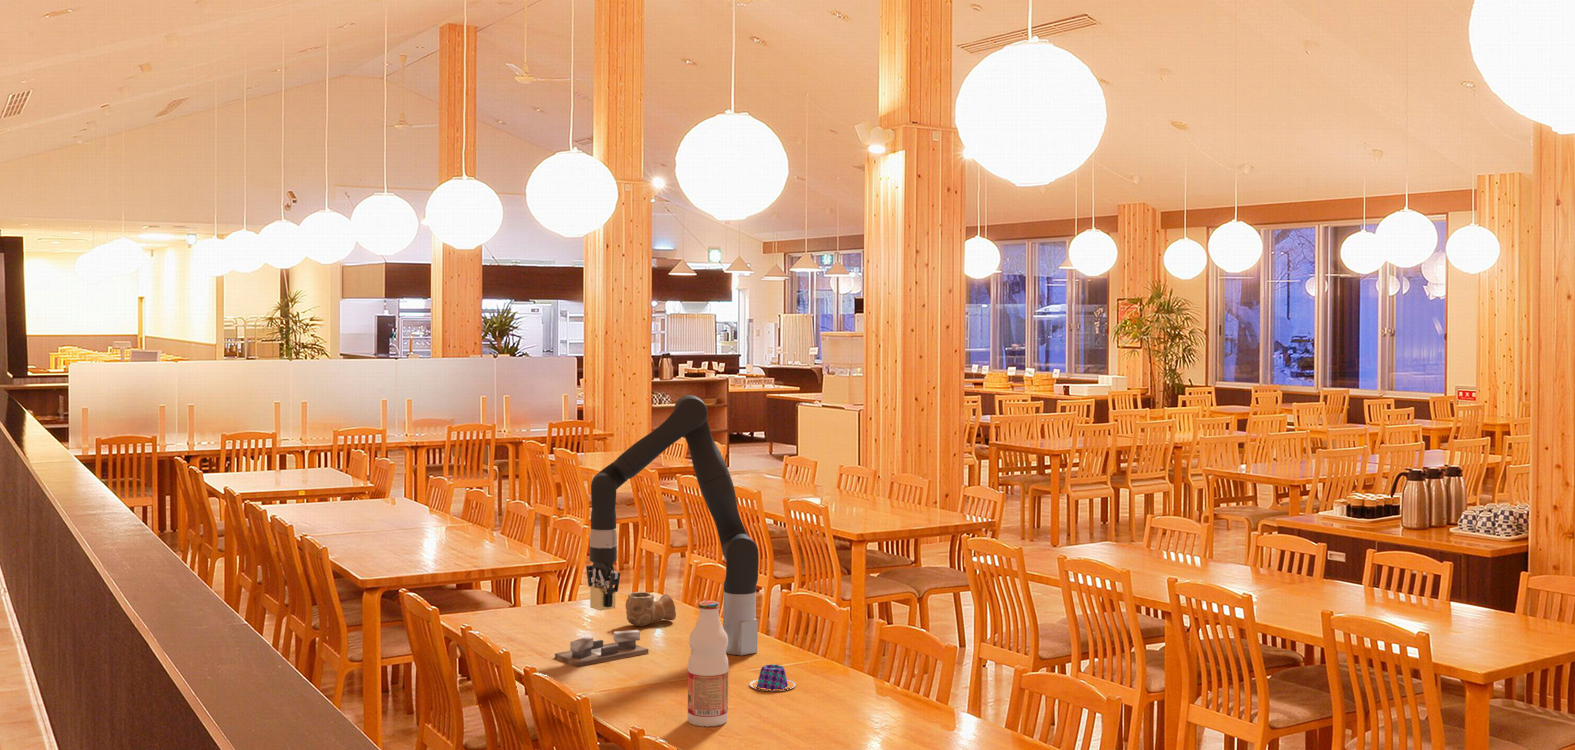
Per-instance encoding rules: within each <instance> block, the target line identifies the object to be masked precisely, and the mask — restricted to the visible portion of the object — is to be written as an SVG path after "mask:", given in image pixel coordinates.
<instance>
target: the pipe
mask: <svg viewBox="0 0 1575 750" xmlns="http://www.w3.org/2000/svg"><path fill="white" fill-rule="evenodd" d="M627 597H628V598H627V599H626V601H625V610H626V613H625V615H626V619H627V622H628V623H630V624H631V625H634V626H635V627H644V626H647V625H649V624H651V623H653V622H658V621H662V620H666V621H674V620H676V616H677V612H676V605H675V601H674V600H673V598H672V596H670V595H669V594H667V593H665V594H662V595H661V596H660V598H659V600H656V601H655V599H654V598H655V595H654V594H651V593H650V592H648V591H633V592H630V593H628V596H627Z"/></svg>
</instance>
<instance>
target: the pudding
mask: <svg viewBox="0 0 1575 750" xmlns="http://www.w3.org/2000/svg"><path fill="white" fill-rule="evenodd" d="M756 681H758V683H757V685H756V687H757V686H759V687H760V688H766V689H771V690H770V691H774V690H773V689H783V688H785V687H787V686H788V687H789V685H788V683H787V681H789V682H792V683H793V685H794V686H793V687H792V688H790V689H794V688H795V687H796V685H797V684H796V682H795V681H793V680H790V679H787V675H786V670H785V667H784V666H783V665H779V664H765V665H764V666H762V667H761V669H760V672H759V675H758V678H757V679H754V680H752V681H750V682H749V686H750V687H751V688H753V689H755V690H759V691H761V690H760V688H759V687H757V688H759V689H757V688H754V687H753V685H752V684H753V683H755V682H756ZM766 689H763V692H765V691H766V692H769V691H768V690H766ZM785 689H787V688H785ZM790 689H787V690H790ZM787 690H786V691H787ZM781 691H782V692H784V689H783V690H779V691H778V692H781Z"/></svg>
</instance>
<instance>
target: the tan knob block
mask: <svg viewBox="0 0 1575 750" xmlns="http://www.w3.org/2000/svg"><path fill="white" fill-rule="evenodd" d="M607 587H608V588H609V585H607ZM613 587H615V585H613ZM589 588H590V589H589V590H590V596H589V597H590V599H589V600H590V601H589V602H590V603H589V605H590V606H589V607H590V608H591V609H593V610H597V611H600V612H602V611H608V610H613V609H616V592H614V593H613V603H612V607H605V606H604V594H605V592H604V587H603V586H602V585H596V586H590V587H589Z"/></svg>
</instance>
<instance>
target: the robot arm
mask: <svg viewBox="0 0 1575 750" xmlns="http://www.w3.org/2000/svg"><path fill="white" fill-rule="evenodd" d="M708 411H709V410H708V408H707V405H706V403H705V402H704V401H703V400H702V399H701V398H700V397H698V396H696V395H693V394H686V395H682V396H681V397H679V398H678V400H676V402H675V404H674V406H673V411H672V413H671V414H670V415H669V416H668V417H667V418H666V419H665V421H663V422H662V423H661V424H660V425H659V426H658V427H656V428H655V429H653V430H652V431H651V432H649V433H647V435H645V436H643V437H642V438H641V439H639V440H638V441H636V442H635V443H634V444H632V445H631V446H629V448H627V449H626V450H625V451H624V452H622V453H621V454H620V455H619V456H618V457H616V459H615V460H614V461H613V462H611V463H610V464H607V466H606V467H604V468H603V469H601V470H600V471H599V472H597V473H596V474H595V476H593V478H592V480H591V483H590V499H591V500H590V501H591V512H590V513H591V514H590V533H589V561H590V562H591V563H592V564H590V565H586V567H585V568H586V577H587V583H588V587H589V588H590V586H596V585H602V586H603V587H604V592H605V594H604V606H605V607H612V603H613V593H614V592H615V593H618V590H619V585H620V577H621V572H620V571H615V568H614V563H615V562H616V561H618V560H617V559H618V534H617V512H616V511H617V510H616V504H617V502H616V501H617V490H618V489H619V488H621V487H622V485H624V484H625V483H626V482H627V481H628V480H629V479H632V478H634V477H635V476H637V475H638V474H639V473H641V472H642V470H644V469H645V468H646V467H647V466H648V465H650V464H651V463H652V462H653V461H654V460H655V459H657V458H658V457H659V456H660V455H661V454H662V453H663V452H664V451H665V450H667V449H668V448H669V447H671V446H672V445H673V444H674V443H676V442H677V441H678V440H680V439H682V438H683V437H684V439H685V441H686V444H687V447H688V450H689V454H690V458H691V462H692V467H693V470H694V474H695V478H696V481H697V483H698V486H699V488H700V492H701V494H702V497H703V499H704V502H705V504H706V506H707V508H708V511H709V513H710V515H711V517H712V519H713V521H714V524H715V526H716V530H717V535H718V538H719V542H720V547H721V550H722V551H721V552H722V555H723V558H724V559H725V562H726V563H725V578H724V581H723V603H722V604H723V610H722V611H723V613H722V614H723V617H722V619H723V621H722V627H723V629H724V630H725V632H726V633H727V636H728V646H727V649H726V654H729V655H733V656H746V655H750V654H755V653H758V645H759V644H758V641H759V639H758V637H759V636H758V635H759V634H758V631H759V630H758V629H759V620H758V618H757V615H756V614H757V611H756V610H757V609H756V607H757V585H758V580H759V562H760V561H759V560H760V559H759V557H760V556H759V555H760V554H759V553H760V552H759V548H758V546H757V543H756V542H755V540H753V539H752V538H751V537H750V536H749V534H748V532H747V530H746V528H745V526H744V523H743V521H742V519H741V517H740V514H739V513H740V512H739V509H738V501H737V500H738V499H737V494H736V490H735V485H734V483H733V480H732V476H731V474H730V472H729V468H728V466H727V464H726V461H725V460H724V458H723V455H722V453H721V452H720V449H719V448H718V446H717V444H716V442H715V441H714V438H713V435H712V432H711V428H710V424H709V421H708V416H709V415H708V413H709V412H708ZM607 585H609V588H608V587H607ZM613 586H614V587H613Z"/></svg>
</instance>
